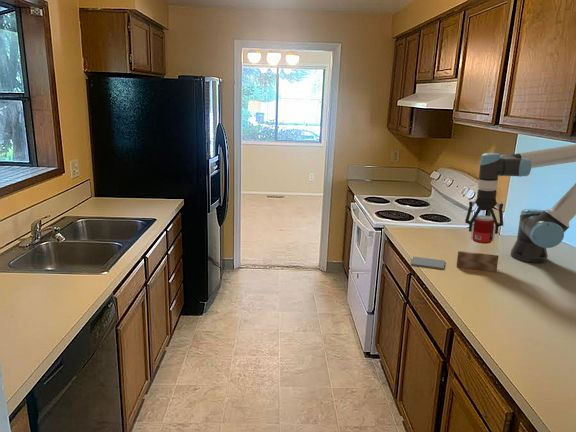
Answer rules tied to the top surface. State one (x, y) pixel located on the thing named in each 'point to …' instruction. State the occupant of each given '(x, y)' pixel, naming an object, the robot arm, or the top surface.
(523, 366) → the top surface
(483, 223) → the canned food
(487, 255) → the walnut screen
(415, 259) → the slate mat
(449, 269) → the top surface
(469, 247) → the top surface
